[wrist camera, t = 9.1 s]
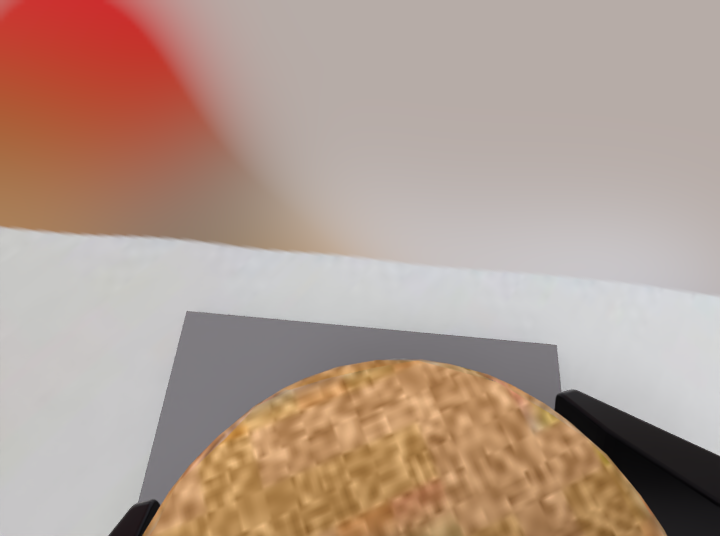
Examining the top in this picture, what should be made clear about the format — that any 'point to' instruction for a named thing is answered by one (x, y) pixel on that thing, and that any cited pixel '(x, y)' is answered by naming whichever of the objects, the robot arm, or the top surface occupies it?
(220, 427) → the mat
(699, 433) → the top surface
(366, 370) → the bottle
